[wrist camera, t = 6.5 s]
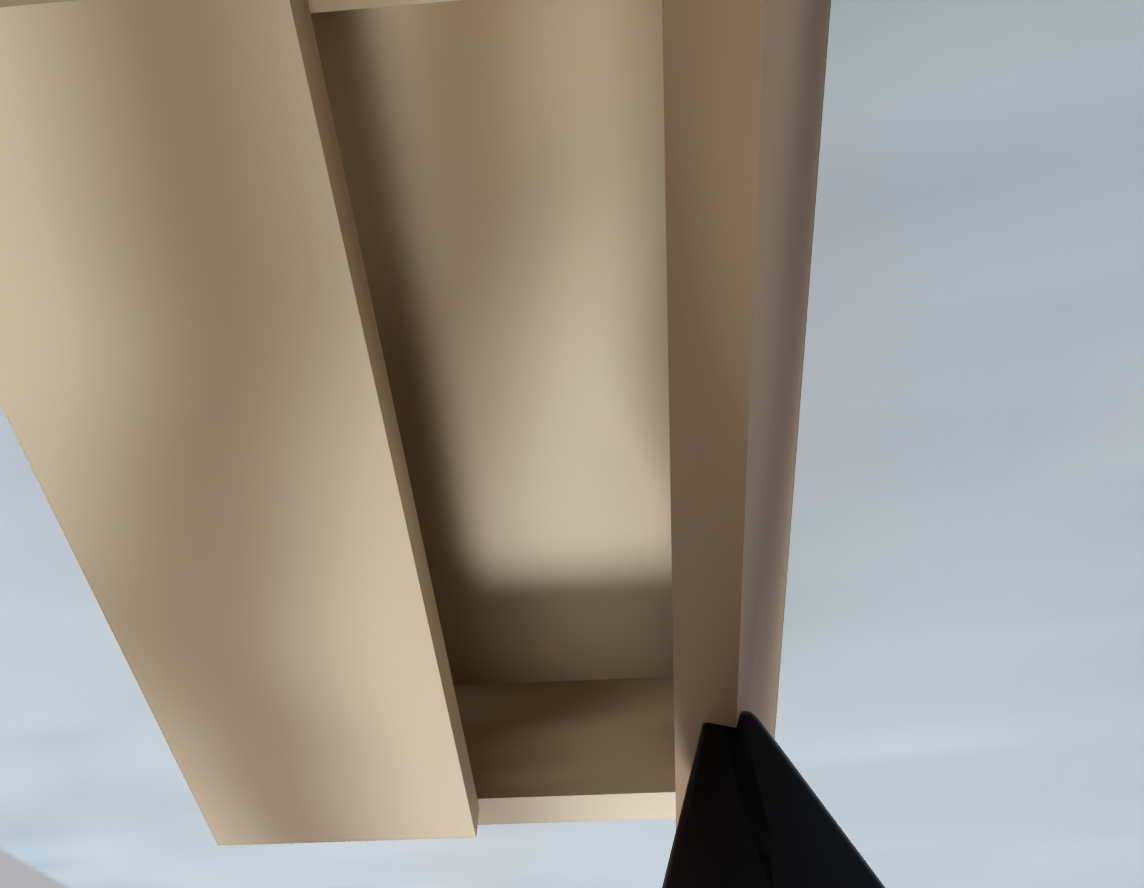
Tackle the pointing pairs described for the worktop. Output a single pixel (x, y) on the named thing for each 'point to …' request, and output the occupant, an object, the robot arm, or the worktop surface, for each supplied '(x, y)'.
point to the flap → (735, 337)
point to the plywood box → (356, 393)
